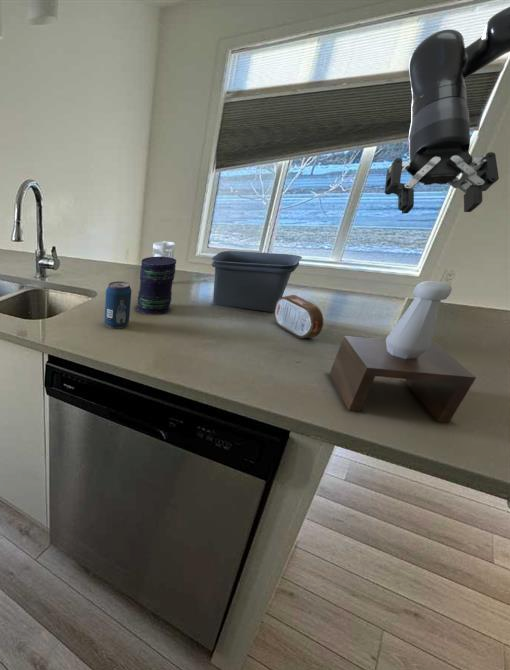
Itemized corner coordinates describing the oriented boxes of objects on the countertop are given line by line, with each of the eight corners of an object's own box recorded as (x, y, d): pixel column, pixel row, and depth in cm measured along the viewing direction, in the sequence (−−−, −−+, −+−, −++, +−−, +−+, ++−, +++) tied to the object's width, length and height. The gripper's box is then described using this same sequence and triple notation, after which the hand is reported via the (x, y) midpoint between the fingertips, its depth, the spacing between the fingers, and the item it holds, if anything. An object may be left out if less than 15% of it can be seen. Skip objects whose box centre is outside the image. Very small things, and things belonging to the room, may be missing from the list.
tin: (318, 342, 98) (329, 309, 93) (305, 343, 98) (316, 311, 94) (280, 320, 111) (288, 290, 106) (268, 321, 111) (276, 291, 107)
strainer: (149, 285, 146) (153, 242, 138) (149, 279, 152) (153, 238, 144) (170, 285, 144) (175, 242, 136) (169, 279, 149) (174, 237, 142)
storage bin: (200, 305, 125) (208, 259, 117) (215, 291, 134) (224, 247, 127) (280, 317, 112) (295, 266, 105) (291, 301, 122) (305, 253, 115)
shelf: (414, 382, 80) (435, 341, 75) (449, 422, 69) (476, 377, 65) (329, 374, 85) (343, 335, 81) (348, 410, 74) (367, 367, 70)
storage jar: (166, 316, 120) (172, 265, 112) (132, 312, 125) (137, 263, 117) (173, 305, 127) (179, 257, 119) (141, 302, 132) (145, 255, 124)
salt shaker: (418, 364, 69) (455, 291, 63) (376, 354, 73) (407, 284, 67) (428, 353, 72) (464, 282, 66) (387, 344, 76) (417, 276, 70)
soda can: (114, 318, 122) (117, 279, 116) (133, 324, 117) (137, 283, 111) (99, 325, 118) (100, 285, 112) (118, 331, 113) (121, 289, 107)
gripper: (400, 121, 73) (399, 197, 70) (508, 111, 68) (512, 193, 65) (378, 153, 80) (376, 224, 77) (475, 146, 75) (477, 222, 72)
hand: (438, 209), depth 71 cm, fingers open, 8 cm apart
